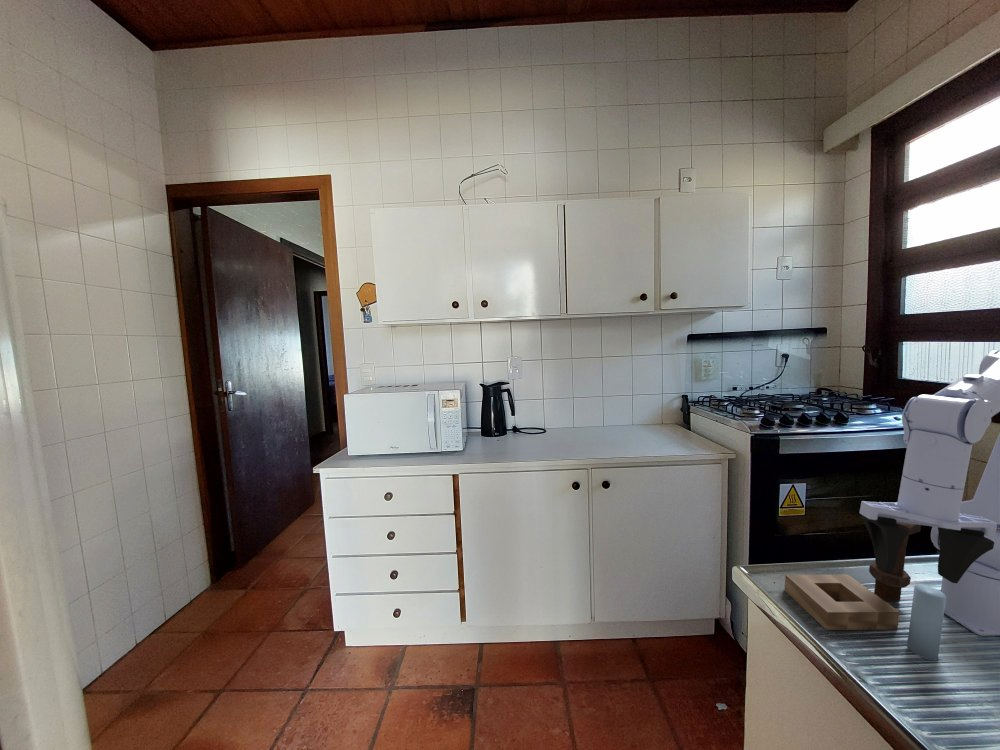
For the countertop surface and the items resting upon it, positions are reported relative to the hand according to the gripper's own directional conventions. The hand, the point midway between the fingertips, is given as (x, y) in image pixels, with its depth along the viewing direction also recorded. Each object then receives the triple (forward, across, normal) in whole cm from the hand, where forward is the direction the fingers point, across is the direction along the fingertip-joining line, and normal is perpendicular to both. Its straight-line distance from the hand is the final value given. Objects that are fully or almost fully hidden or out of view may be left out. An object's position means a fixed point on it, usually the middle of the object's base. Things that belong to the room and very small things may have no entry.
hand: (915, 573), depth 53 cm
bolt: (+11, +7, +13) cm, 18 cm away
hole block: (+12, -3, +8) cm, 15 cm away
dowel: (+12, +3, +1) cm, 13 cm away
